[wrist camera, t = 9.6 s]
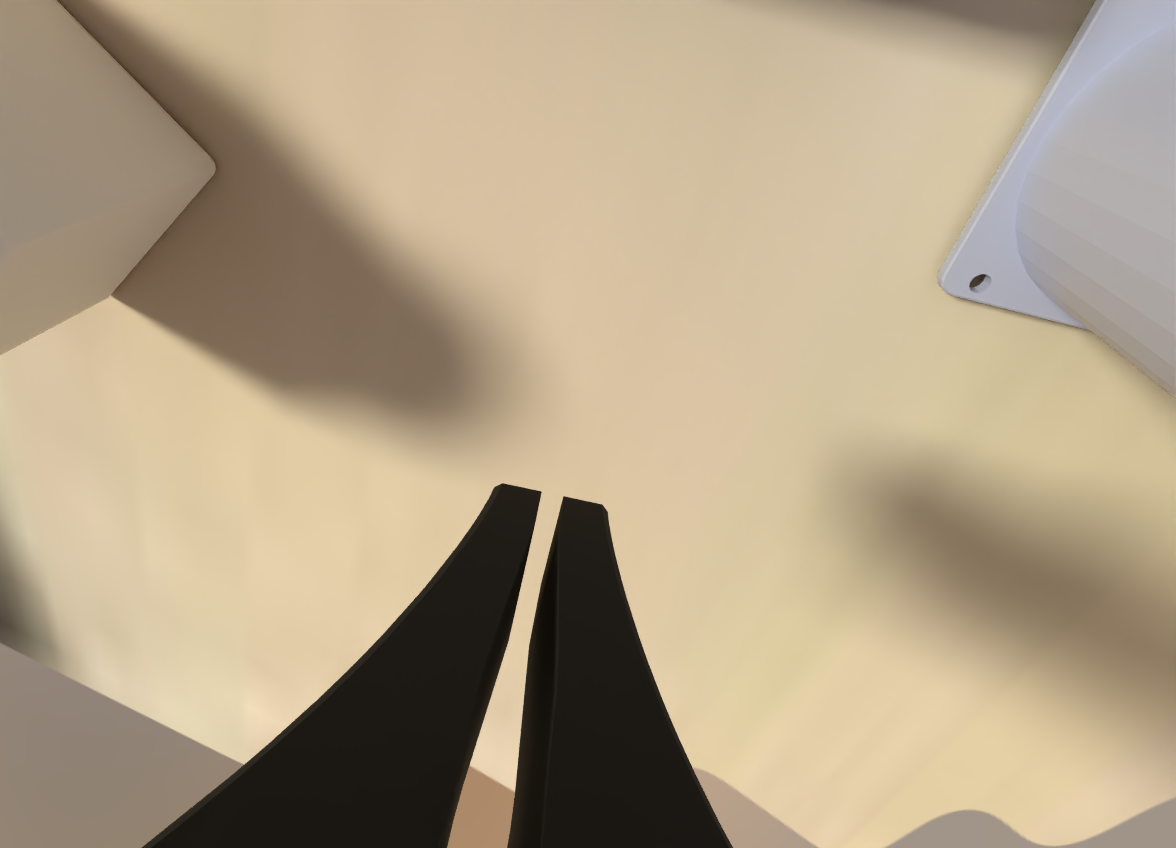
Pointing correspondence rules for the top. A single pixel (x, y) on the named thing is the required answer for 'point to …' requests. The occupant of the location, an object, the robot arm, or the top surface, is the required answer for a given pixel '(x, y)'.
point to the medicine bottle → (78, 170)
